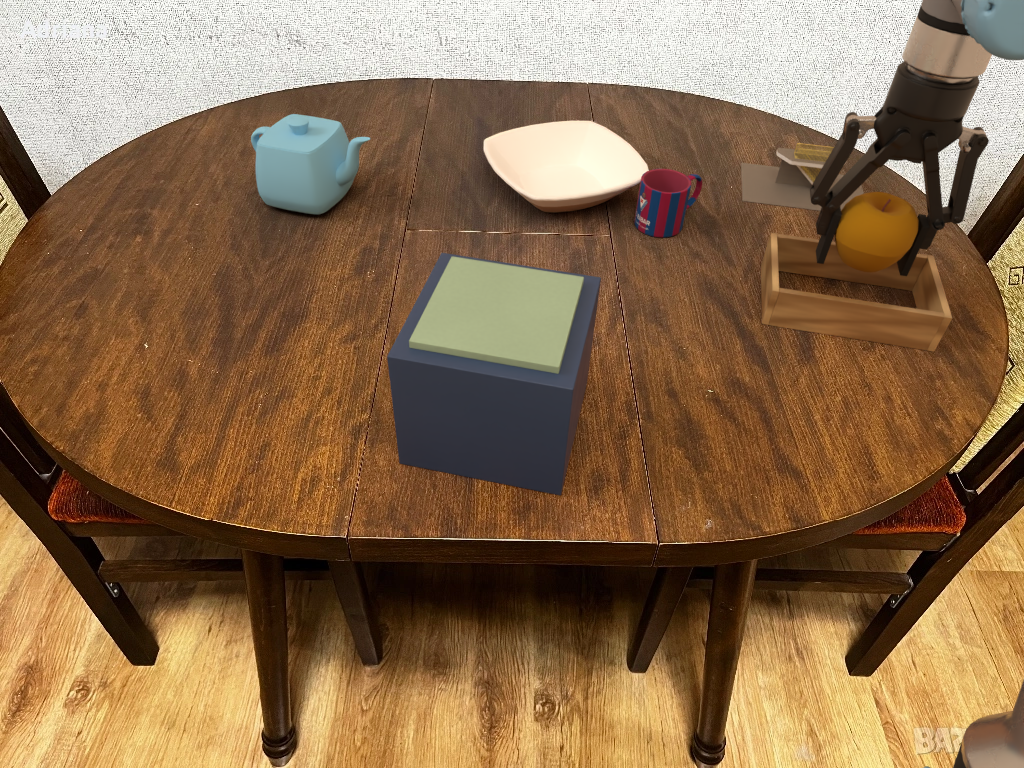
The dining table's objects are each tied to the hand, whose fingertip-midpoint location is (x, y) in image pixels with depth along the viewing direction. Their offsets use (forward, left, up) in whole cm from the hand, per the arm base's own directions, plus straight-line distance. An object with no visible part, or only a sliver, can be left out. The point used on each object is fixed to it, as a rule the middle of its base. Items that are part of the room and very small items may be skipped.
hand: (860, 263), depth 90 cm
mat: (-29, +37, +8) cm, 47 cm away
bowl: (+19, +39, -7) cm, 43 cm away
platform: (+29, +4, -7) cm, 30 cm away
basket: (0, 0, -6) cm, 6 cm away
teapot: (+7, +72, -7) cm, 72 cm away
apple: (0, 0, 0) cm, 0 cm away
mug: (+14, +23, -7) cm, 27 cm away
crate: (-29, +37, -6) cm, 47 cm away
